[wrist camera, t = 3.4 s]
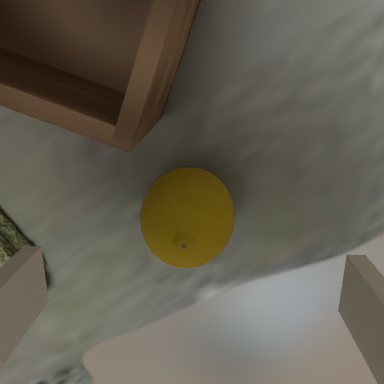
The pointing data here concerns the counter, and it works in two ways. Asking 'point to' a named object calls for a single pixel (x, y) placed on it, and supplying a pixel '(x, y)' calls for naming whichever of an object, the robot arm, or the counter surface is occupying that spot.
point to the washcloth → (10, 240)
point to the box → (93, 63)
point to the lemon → (187, 217)
